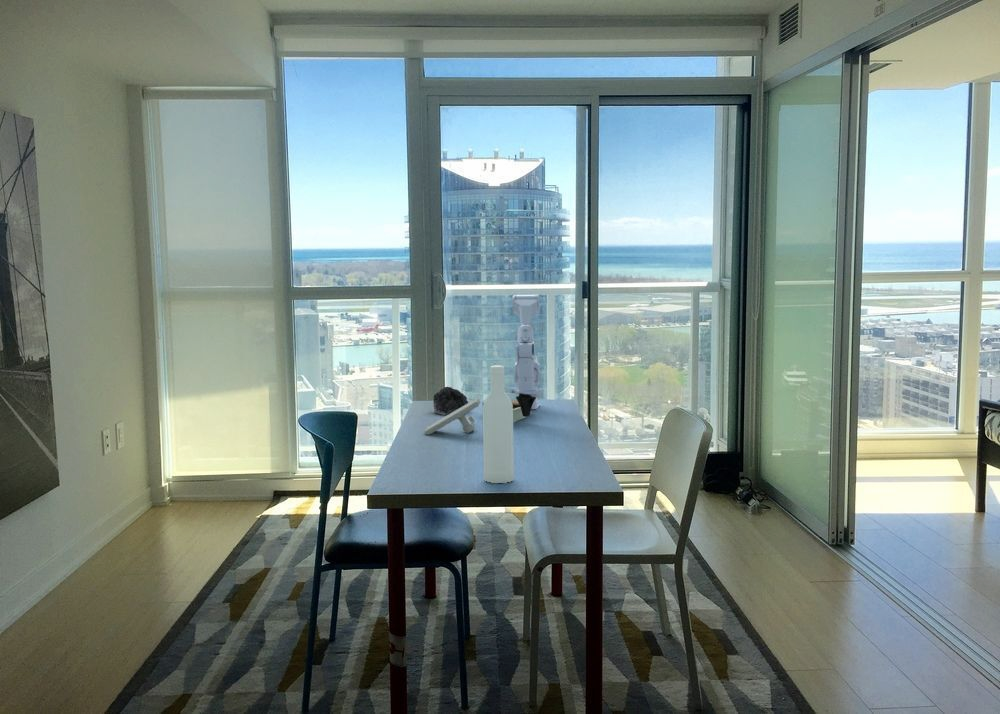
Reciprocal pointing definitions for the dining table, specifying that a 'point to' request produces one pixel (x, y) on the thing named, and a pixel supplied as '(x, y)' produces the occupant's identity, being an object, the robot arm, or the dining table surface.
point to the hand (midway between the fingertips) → (526, 416)
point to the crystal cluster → (448, 401)
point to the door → (517, 414)
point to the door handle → (454, 415)
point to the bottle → (498, 431)
